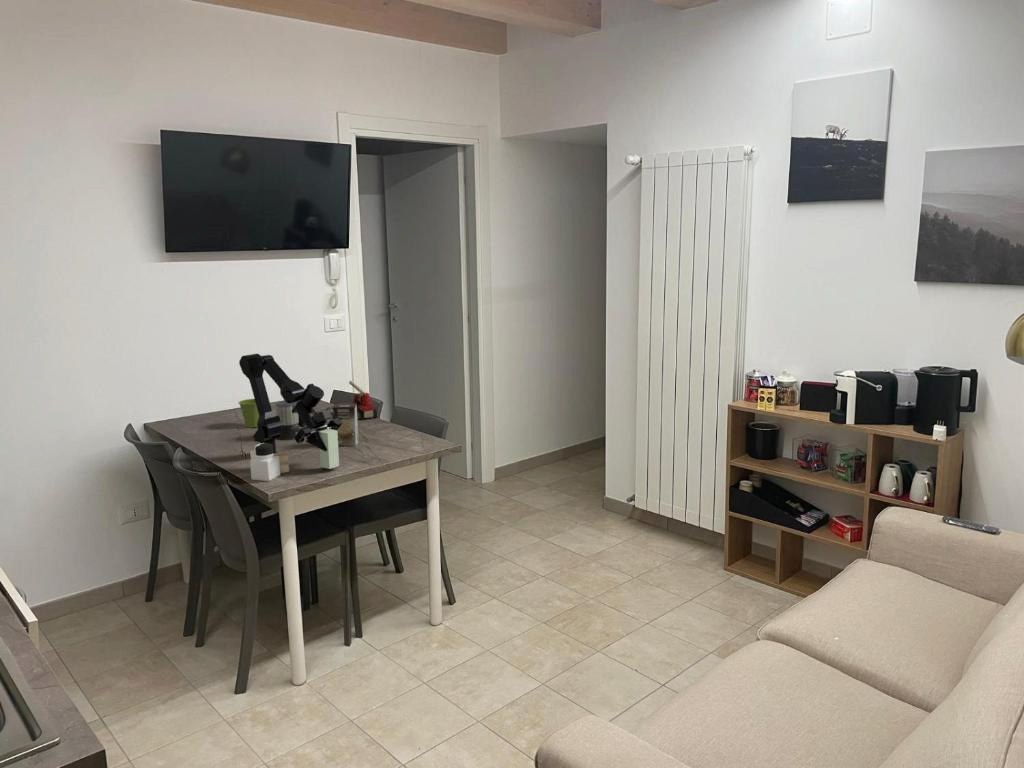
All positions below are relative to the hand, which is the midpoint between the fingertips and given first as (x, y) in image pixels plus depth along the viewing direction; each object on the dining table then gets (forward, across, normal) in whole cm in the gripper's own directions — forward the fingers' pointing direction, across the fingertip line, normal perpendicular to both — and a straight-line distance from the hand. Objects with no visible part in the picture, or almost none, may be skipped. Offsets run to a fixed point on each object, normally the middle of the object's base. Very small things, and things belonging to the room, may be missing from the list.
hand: (331, 449), depth 272 cm
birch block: (-5, -11, +17) cm, 21 cm away
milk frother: (-32, +23, +43) cm, 59 cm away
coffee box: (-9, +27, +20) cm, 35 cm away
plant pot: (-49, +27, +61) cm, 82 cm away
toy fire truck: (-29, +65, +40) cm, 82 cm away
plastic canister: (-11, -13, +22) cm, 28 cm away
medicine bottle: (-4, -18, +16) cm, 24 cm away
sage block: (+4, 0, +6) cm, 7 cm away
